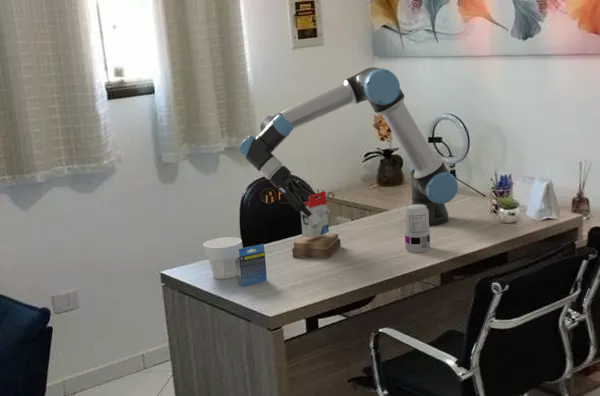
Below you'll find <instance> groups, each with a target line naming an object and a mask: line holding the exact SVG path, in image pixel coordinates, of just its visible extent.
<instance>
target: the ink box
mask: <svg viewBox="0 0 600 396" xmlns="http://www.w3.org/2000/svg"><path fill="white" fill-rule="evenodd" d="M317 196H318V198H316V199H314V198H315V197H317ZM308 198H309V200H306V201H303V203H304V204H305V207H306V206H308V207H309V208H310V209H311V210H313V211H314V212H315V213H316V214H317V215H318V216H319V217H320V218H321V219H320V220H319V222H318V223H317V224H316V225H315V224H314V223H313V222H312V221H311V220H310V219H309V218H308V217H307V216H306V215H305V214H304V213H303V212H302V211H301V212H300V221H301V234H302V236H305V237H311V238H313V237H316V236H319V235H322V234H328V233H330V230H329V219H328V218H329V217H328V215H327V208H328V204H327V196H326V192H325V190H323V191H321V192H317V193H316V194H314V195H310V196H309V197H308Z"/></svg>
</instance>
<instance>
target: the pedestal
mask: <svg viewBox="0 0 600 396" xmlns="http://www.w3.org/2000/svg"><path fill="white" fill-rule="evenodd" d="M341 244H342V243H341V238H339V234H338V233H325V234H322V235H319V236H316V237H313V238H311V237H305V236H303V235H302V236H300V237H299V238H298V239H297V240H295V241H294V242H293V248H292V249H291V251H292V258H307V259H330V258H331V257H332V256H333V255H334V254H336V252H337V251H338V250H340V249H341V247H342V245H341Z"/></svg>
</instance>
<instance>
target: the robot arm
mask: <svg viewBox="0 0 600 396" xmlns="http://www.w3.org/2000/svg"><path fill="white" fill-rule="evenodd" d="M365 101H368V103H369V104H370V106H371V108H372V109H373V111H374V113H375V114H377V115H381V116H382V117H383V119H384V122H386V124H387V126H388V128H389V129H390V132H391V133H392V134H393V136H394V138H395V139H396V141H397V143H398V144H399V146H400V148H401V149H402V151H403V152H404V154H405V156H406V158H407V160H408V161H409V163H410V171H409V173H410V184H411V185H410V188H411V204H410V205H412V204H423V205H426V207H427V209H428V213H429V227H430V226H437V225H442V224H445V223H447V222H449V220H450V219H449V213H448V210H447V207H446V204H447V203H449V202H452V200H454V198H455V196H456V195H457V193H458V191H459V182H458V179H456V176H454V174H452V173H451V172H449V169H448V167H447V166H446V164H445V162H444V160H443V159H441V158H437V157H436V155H435V154H434V152H433V151H432V148H431V147H430V145H429V144H428V142H427V141H426V138H425V137H424V135H423V134H422V132H421V130H420V129H419V127H418V125H417V124H416V122H415V120H414V119H413V117H412V115H411V113H410V111H409V110H408V107H407V106H406V105H405V103H404V101H405V94H404V92H403V90H402V89H401V85H400V81H399V78H398V77H397V76H396V75H395V73H393V72H392V71H390V70H388V69H386V68H380V67H374V66H373V67H368V68H366V69H363V70H361V71H360V72H358V73H356V74H354V75H352V76H350V77H348V78H345V79H344V80H343V83H342V84H340V85H337V86H335V87H333V88H331V89H328V90H327V91H324V92H321V93H320V94H318V95H315V96H313V97H311V98H308V99H306V100H304V101H302V102H300V103H298V104H296V105H293V106H292V107H289V108H287V109H285V110H283V111H281V112H278V113H276V114H274V115H267V116H266V117H264V118H263V119H262V120H261V122H260V133H259V134H258V135H257V136H255V135H253V134H250V135H248V136H247V137H246V138H245V139H244V140H243V141H242V142H241V143H240V145H239V147H238V152H239V153H240V155H241V156H242V157H244V158H245V160H246V161H247V162H249V163H250V164H251V165H252V166H253V168H255V169H256V170H257V171H258V172H259V173H260V174H261V176H263V177H265V178H266V179H267V180H269V183H271V185H273V186H274V188H277V189H278V188H279V189H278V192H279V193H280V194H281V195H283V197H284V198H285V199H286V201H287V202H288V203H289V204H290V206H291V207H293V209H294V210H295V211H296V212H298V214H301V211H302V212H303V213H304V214H305V215H306V216H307V217H308V218H309V219H310V220H311V221H312V222H313V223H314V224H315V225H316V224H317V223H318V222H319V220H320V219H321V218H320V217H319V216H318V215H317V214H316V213H315V212H314V211H313V210H311V209H310V208H309V207H308V206H306V207H305V204H304V203H303V202H304V201H303V199H302V198H301V197H303V198H304V199H305V200H306V201H309V198H308V197H309V196H310V195H314V194H317V193H316V192H315V191H313V190H312V189H311V188H310V187H309V186H308V185H306V184H305V183H303V181H301V180H300V179H299V178H298V177H295V178H292V177H291V175H292V171H291V170H290V169H289V168H288V167H286V165H283V164H284V163H283V162H282V161H280V160H279V159H278V158H277V157H276V155H274V154H273V152H274V151H275V149H276V148H278V146H279V145H281V143H282V142H284V140H285V139H287V137H289V136H290V134H291V133H292V132H293V130H295V129H297V128H300V127H302V126H303V125H306V124H308V123H310V122H313V121H315V120H317V119H319V118H321V117H323V116H326V115H328V114H330V113H333V112H335V111H337V110H339V109H341V108H343V107H346V106H348V105H351V104H354V105H357V104H359V103H361V102H365ZM300 196H301V197H300ZM316 198H319V196H317V197H315V198H314V199H316ZM330 212H331V210H330V209H329V208H328V207H327V215H328V214H330Z"/></svg>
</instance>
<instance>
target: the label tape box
mask: <svg viewBox="0 0 600 396" xmlns="http://www.w3.org/2000/svg"><path fill="white" fill-rule="evenodd" d="M238 250H239V257H238V258H236V259H235V265H236V283H237V285H239V286H240V287H242V288H243V287H247V286H251V285H254V284H258V283H259V284H260V283H263V282H267V280H268V278H267V276H268V275H267V265H266V263H267V262H266V252H265V251H266V250H265V244H264V243H261V244H256V245H251V246H247V247H242V248H240V249H238ZM251 250H253V251H251ZM254 250H255V251H254ZM250 251H251V252H250Z"/></svg>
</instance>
